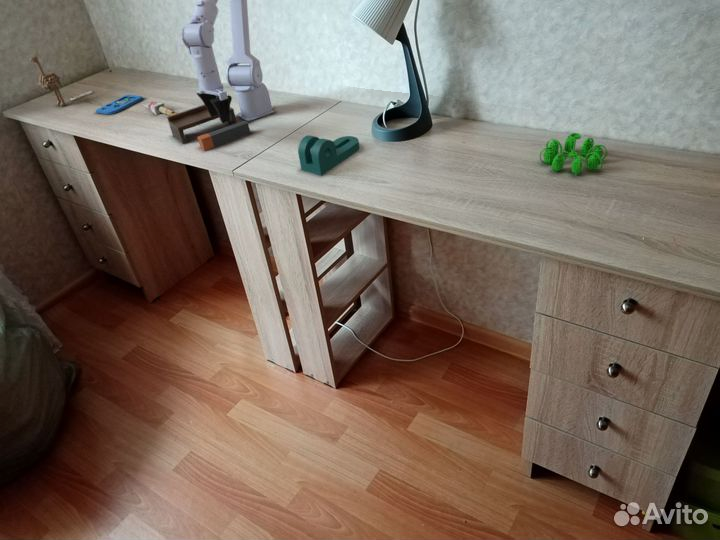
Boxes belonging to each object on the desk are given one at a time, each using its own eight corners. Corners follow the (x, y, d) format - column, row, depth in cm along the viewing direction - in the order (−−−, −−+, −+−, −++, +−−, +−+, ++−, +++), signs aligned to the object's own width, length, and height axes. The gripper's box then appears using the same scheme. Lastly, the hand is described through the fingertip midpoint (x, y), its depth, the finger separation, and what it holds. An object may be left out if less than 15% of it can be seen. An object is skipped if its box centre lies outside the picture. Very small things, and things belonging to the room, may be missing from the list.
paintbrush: (148, 96, 191) (181, 109, 180) (151, 104, 193) (183, 117, 182) (138, 100, 189) (171, 114, 178) (141, 108, 191) (173, 122, 180)
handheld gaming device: (94, 109, 192) (126, 93, 202) (95, 112, 193) (127, 96, 203) (111, 111, 189) (142, 95, 199) (112, 114, 190) (143, 98, 200)
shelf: (226, 117, 177) (221, 98, 173) (237, 124, 172) (232, 104, 168) (173, 136, 169) (166, 116, 166) (183, 143, 164) (176, 124, 160)
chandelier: (525, 164, 133) (527, 137, 129) (565, 142, 139) (568, 116, 135) (579, 185, 123) (584, 156, 119) (619, 161, 129) (625, 133, 125)
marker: (246, 131, 167) (243, 119, 164) (250, 133, 165) (248, 122, 163) (200, 148, 160) (197, 136, 158) (204, 150, 158) (201, 139, 156)
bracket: (321, 175, 139) (316, 146, 134) (301, 170, 143) (296, 141, 138) (364, 146, 150) (361, 118, 145) (345, 142, 153) (341, 114, 148)
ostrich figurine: (57, 110, 200) (34, 59, 189) (47, 107, 203) (24, 57, 192) (97, 93, 210) (78, 44, 199) (88, 91, 213) (68, 43, 202)
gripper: (183, 69, 153) (196, 116, 161) (204, 80, 143) (218, 129, 152) (206, 62, 156) (218, 109, 164) (229, 72, 146) (241, 121, 155)
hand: (220, 118), depth 158 cm, fingers open, 7 cm apart
